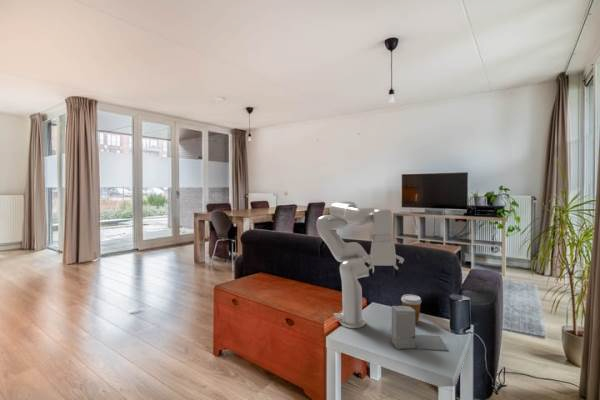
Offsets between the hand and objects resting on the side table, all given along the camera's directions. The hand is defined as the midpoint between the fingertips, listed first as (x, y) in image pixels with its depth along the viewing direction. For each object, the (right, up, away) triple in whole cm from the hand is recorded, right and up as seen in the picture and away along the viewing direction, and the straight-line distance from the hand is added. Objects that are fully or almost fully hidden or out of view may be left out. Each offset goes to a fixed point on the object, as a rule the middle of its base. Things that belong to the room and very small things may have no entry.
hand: (383, 277), depth 129 cm
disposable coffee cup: (+20, -27, +22) cm, 40 cm away
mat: (+20, -28, 0) cm, 34 cm away
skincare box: (+8, -28, -1) cm, 30 cm away
